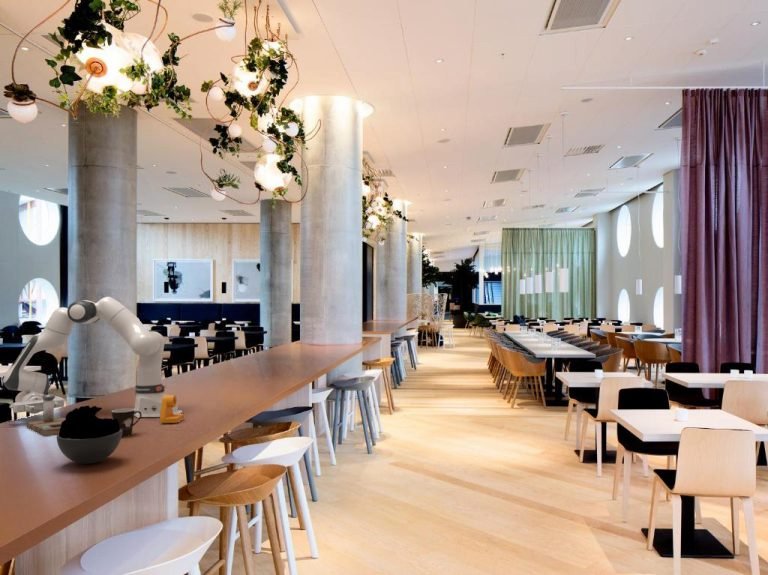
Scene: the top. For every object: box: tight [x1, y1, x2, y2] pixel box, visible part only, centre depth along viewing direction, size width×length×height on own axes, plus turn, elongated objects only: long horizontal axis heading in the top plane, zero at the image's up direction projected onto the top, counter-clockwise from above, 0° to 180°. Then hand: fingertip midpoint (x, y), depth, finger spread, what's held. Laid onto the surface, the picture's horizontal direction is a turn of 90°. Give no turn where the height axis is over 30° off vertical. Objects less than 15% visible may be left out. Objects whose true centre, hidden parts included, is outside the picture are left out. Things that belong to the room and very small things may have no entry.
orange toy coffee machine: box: [159, 394, 185, 424], centre depth 278 cm, size 11×7×12 cm, turn 179°
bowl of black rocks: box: [56, 405, 123, 465], centre depth 210 cm, size 20×20×19 cm
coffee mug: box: [111, 407, 142, 437], centre depth 252 cm, size 12×9×10 cm
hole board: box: [25, 417, 66, 437], centre depth 263 cm, size 24×14×3 cm, turn 45°
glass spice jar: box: [42, 393, 56, 422], centre depth 268 cm, size 5×5×11 cm
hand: (44, 407), depth 272 cm, fingers open, 8 cm apart
